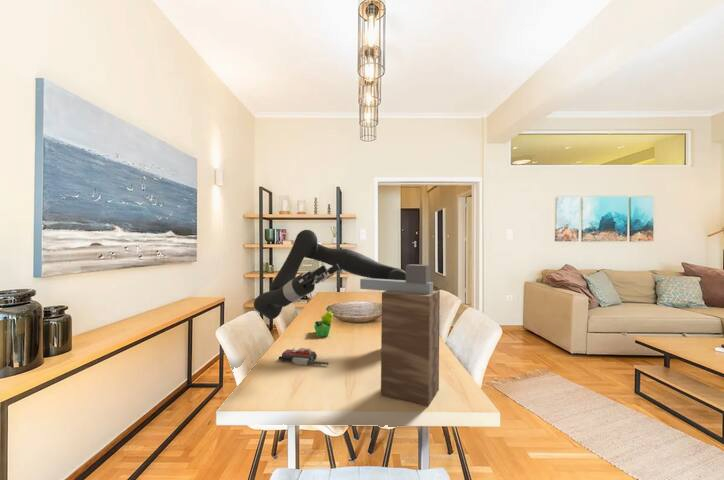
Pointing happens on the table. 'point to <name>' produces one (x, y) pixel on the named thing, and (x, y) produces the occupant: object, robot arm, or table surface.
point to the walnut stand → (410, 346)
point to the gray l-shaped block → (403, 281)
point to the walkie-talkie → (301, 357)
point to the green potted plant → (324, 325)
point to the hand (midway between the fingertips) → (332, 267)
